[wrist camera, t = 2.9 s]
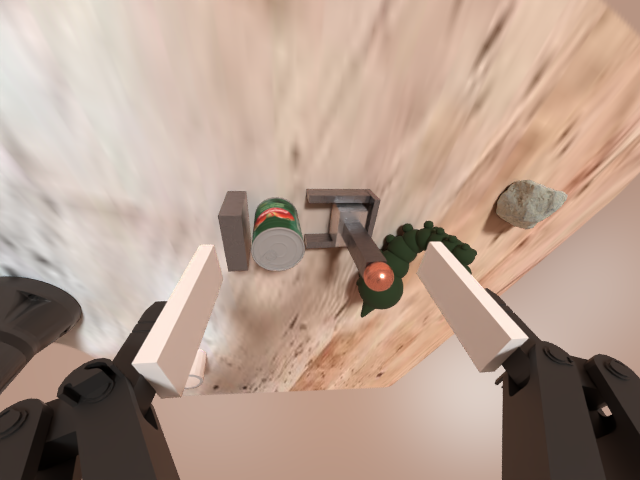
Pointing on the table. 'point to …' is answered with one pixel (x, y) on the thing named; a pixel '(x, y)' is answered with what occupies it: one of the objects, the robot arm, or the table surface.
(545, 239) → the table surface
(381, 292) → the toy figurine
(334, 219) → the ball-tipped square rod
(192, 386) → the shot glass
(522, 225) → the decorative stone
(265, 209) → the canned tomato
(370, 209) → the press frame
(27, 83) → the table surface
